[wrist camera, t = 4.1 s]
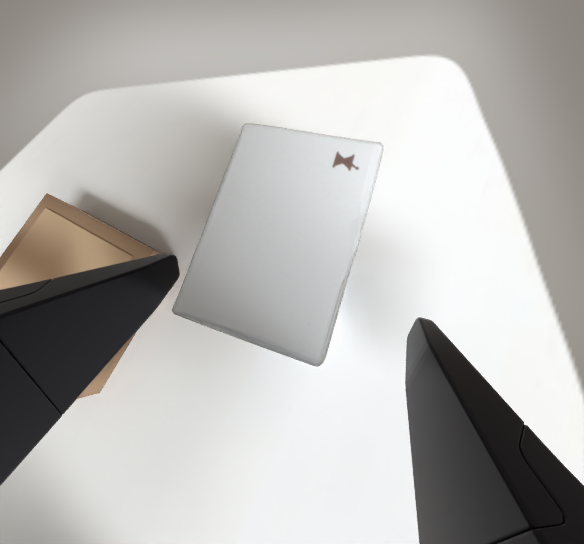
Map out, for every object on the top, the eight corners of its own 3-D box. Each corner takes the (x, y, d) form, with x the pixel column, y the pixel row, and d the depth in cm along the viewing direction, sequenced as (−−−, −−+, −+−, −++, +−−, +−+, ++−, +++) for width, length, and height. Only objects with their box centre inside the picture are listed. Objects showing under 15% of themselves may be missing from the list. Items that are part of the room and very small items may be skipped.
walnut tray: (99, 392, 18) (54, 405, 15) (6, 322, 21) (-49, 320, 18) (178, 262, 20) (151, 249, 17) (83, 211, 22) (44, 192, 19)
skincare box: (294, 246, 19) (243, 113, 7) (350, 261, 18) (392, 136, 6) (269, 324, 18) (162, 314, 6) (327, 344, 17) (329, 373, 5)
